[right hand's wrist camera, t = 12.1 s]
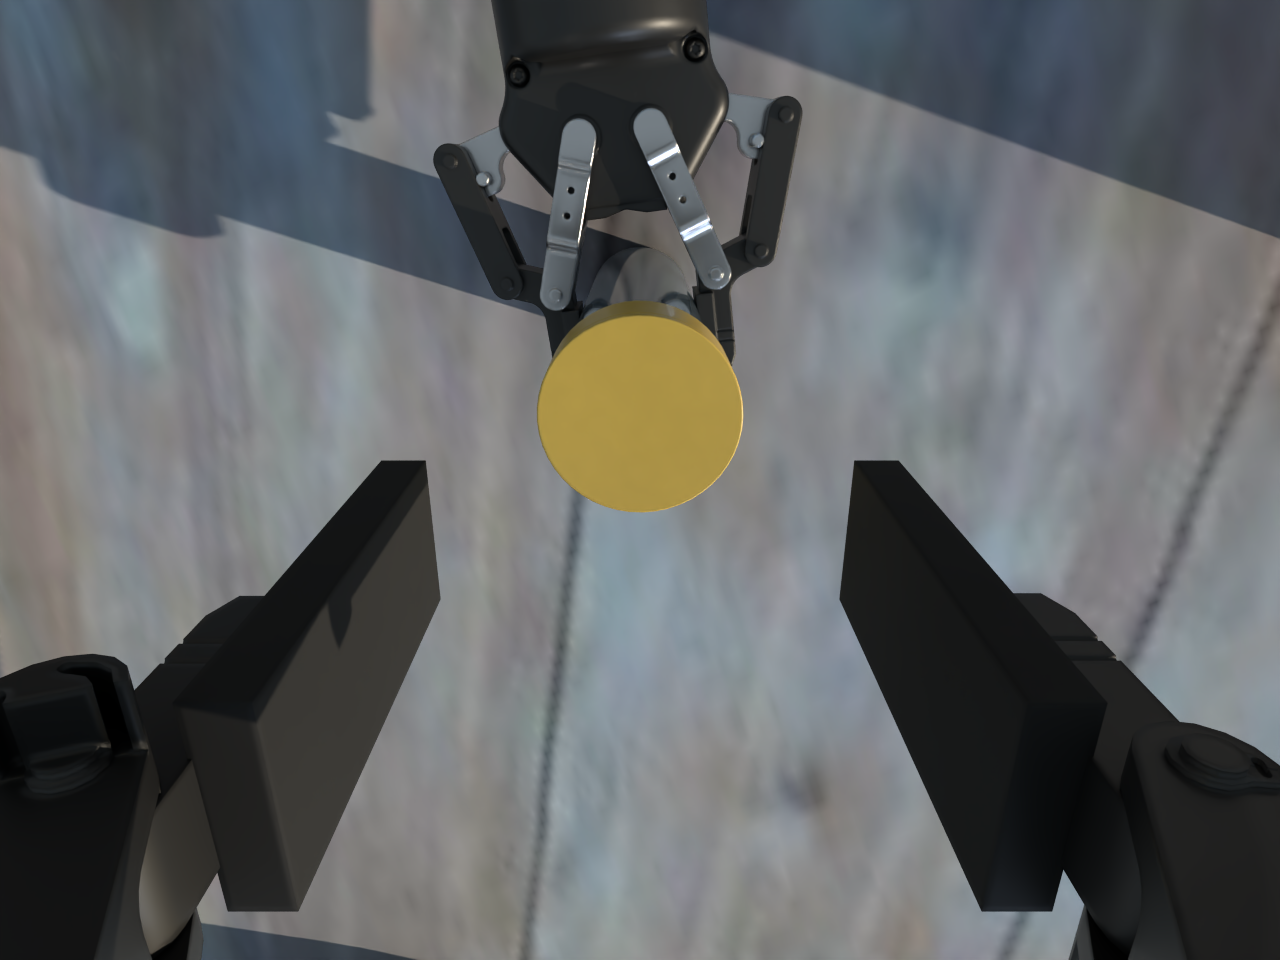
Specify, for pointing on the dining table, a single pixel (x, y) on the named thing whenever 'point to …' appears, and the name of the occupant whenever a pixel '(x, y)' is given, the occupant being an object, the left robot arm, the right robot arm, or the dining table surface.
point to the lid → (640, 407)
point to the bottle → (640, 282)
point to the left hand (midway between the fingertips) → (648, 384)
